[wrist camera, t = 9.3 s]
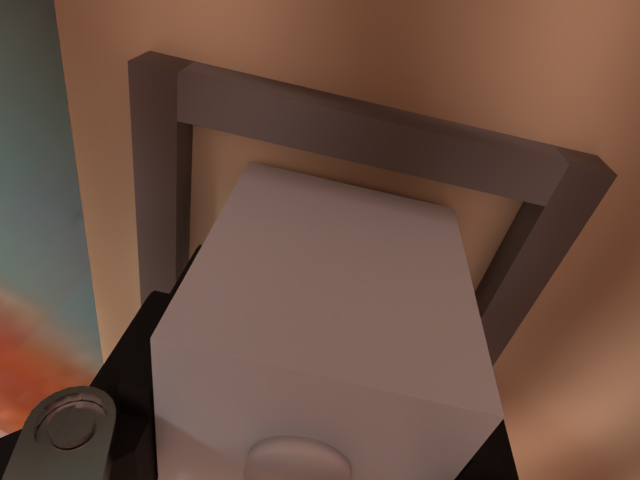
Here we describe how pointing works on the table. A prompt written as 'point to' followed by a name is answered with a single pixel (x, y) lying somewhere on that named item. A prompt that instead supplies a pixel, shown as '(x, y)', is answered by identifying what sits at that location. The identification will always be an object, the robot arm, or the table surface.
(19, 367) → the table surface
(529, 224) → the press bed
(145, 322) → the robot arm
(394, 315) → the block
